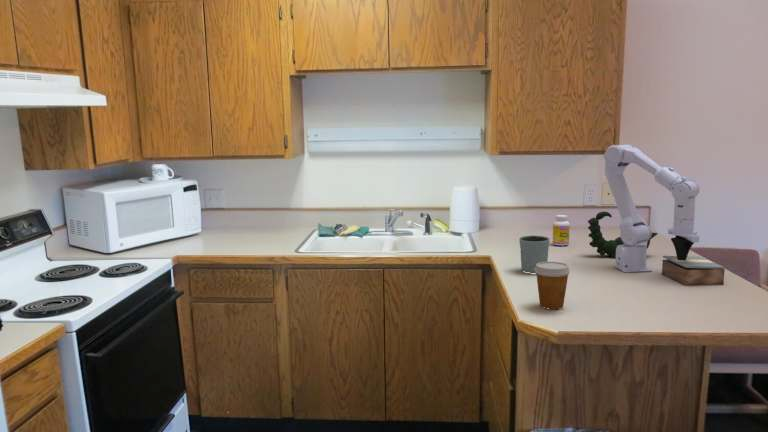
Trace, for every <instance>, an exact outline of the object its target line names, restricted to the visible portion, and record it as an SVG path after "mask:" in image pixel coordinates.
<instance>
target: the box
mask: <svg viewBox="0 0 768 432" xmlns="http://www.w3.org/2000/svg"><path fill="white" fill-rule="evenodd" d="M661 264H662V265H661V275H663V276H665V277H667V278H669V279H671V280H674V281H676V282H677V283H679V284H680V285H683V286H685V287H686V286H690V287H691V286H713V285H716V286H718V285H721V286H722V285H724V283H725V282H724V281H725V269H711V268H685V267H683V266H681V265H679V264H677V263H674V262H672V261H670V260H668V259H662V263H661Z"/></svg>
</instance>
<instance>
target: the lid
mask: <svg viewBox="0 0 768 432" xmlns="http://www.w3.org/2000/svg"><path fill="white" fill-rule="evenodd" d="M662 258H664V260H670V261H672V262H674V263H677V264H679V265H681V266H683V267H685V268H711V269H725V266H724V265H722V264H721V265H720V264H718V263H716V262H714V261H711V260H709V259H706V258H703V257H700V256H693V255H692V256H690V255H688V256H687V258H686V260H678V259H677V255H662Z"/></svg>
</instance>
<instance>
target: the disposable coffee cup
mask: <svg viewBox="0 0 768 432" xmlns="http://www.w3.org/2000/svg"><path fill="white" fill-rule="evenodd" d="M535 272H536V282H537V283H536V284H537V291H538V299H539V300H538V301H539V306H540V305H541V306H542V307H545V308H549V309H559V308H562V307H563V308H564V303H565V299H566V298H565V297H566V292H567V286H568V285H567V284H568V278H569V274H570V272H571V269H570V266H569V265H568V264H567V263H564V262H560V261H547V262H540V263H537V264H536V268H535ZM542 307H541V308H542ZM563 308H562V309H563ZM549 309H548V310H549ZM559 310H560V309H559Z"/></svg>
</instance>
